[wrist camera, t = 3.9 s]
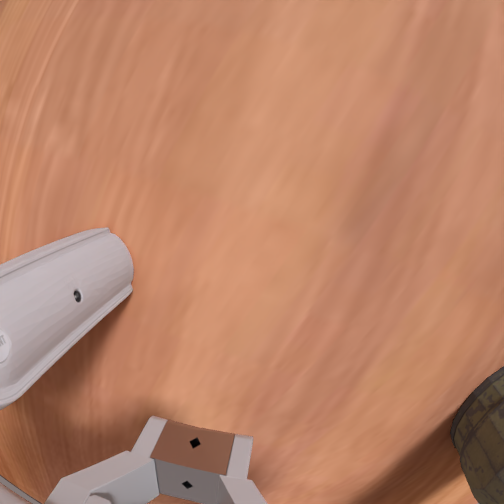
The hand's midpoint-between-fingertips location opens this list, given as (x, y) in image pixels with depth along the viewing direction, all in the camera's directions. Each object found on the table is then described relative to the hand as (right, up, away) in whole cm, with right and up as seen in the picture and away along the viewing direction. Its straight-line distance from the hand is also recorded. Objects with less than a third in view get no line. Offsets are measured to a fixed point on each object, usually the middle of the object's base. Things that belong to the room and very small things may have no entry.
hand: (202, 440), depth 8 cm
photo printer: (-9, +4, +9) cm, 13 cm away
